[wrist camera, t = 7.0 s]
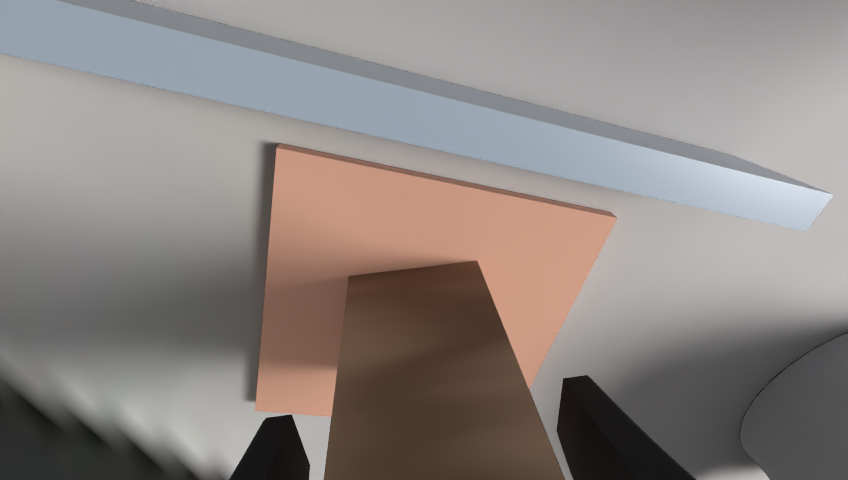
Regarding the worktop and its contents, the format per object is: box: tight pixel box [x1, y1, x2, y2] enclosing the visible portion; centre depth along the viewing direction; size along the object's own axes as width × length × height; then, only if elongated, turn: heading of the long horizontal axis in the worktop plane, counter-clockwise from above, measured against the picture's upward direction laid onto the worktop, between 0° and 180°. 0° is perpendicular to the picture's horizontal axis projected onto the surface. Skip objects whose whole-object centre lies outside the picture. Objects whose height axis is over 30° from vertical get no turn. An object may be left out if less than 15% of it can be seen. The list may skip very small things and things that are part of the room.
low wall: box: [0, 0, 833, 232], centre depth 9 cm, size 18×1×3 cm, turn 76°
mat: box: [255, 144, 617, 417], centre depth 14 cm, size 10×10×1 cm
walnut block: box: [324, 261, 565, 480], centre depth 10 cm, size 4×4×7 cm
